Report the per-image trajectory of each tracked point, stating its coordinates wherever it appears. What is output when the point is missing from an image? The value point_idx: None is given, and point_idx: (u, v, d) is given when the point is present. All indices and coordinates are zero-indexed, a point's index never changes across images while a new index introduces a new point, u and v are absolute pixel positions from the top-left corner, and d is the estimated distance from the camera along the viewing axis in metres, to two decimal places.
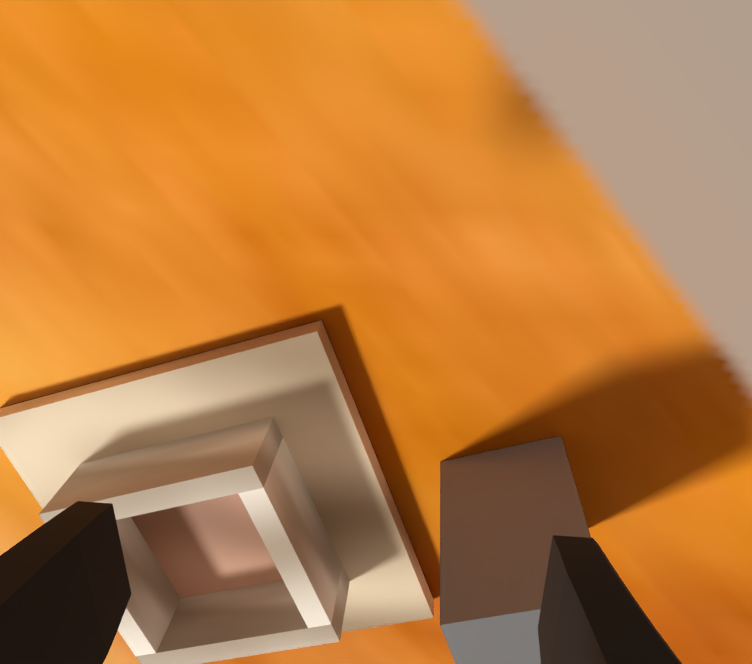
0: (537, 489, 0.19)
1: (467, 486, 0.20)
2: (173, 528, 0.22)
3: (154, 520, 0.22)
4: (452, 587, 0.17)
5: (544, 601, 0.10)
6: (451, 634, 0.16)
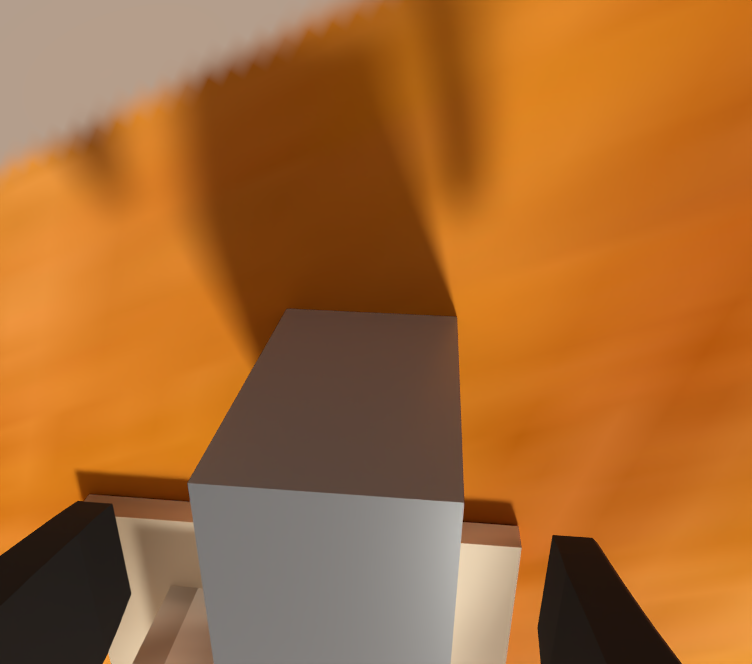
0: None
1: None
2: None
3: None
4: None
5: (544, 601, 0.10)
6: None
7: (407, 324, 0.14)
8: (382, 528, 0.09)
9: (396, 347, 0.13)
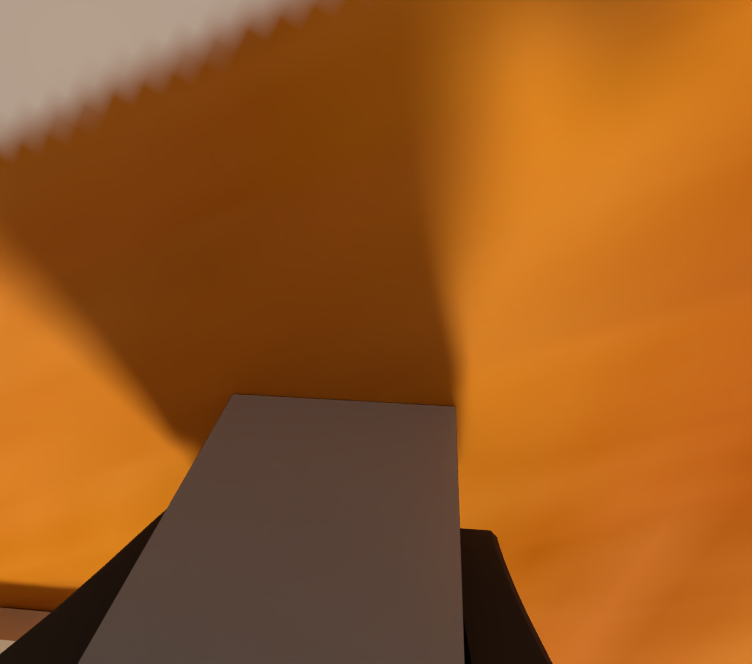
0: None
1: None
2: None
3: None
4: None
5: None
6: None
7: (390, 420, 0.11)
8: None
9: (373, 462, 0.10)
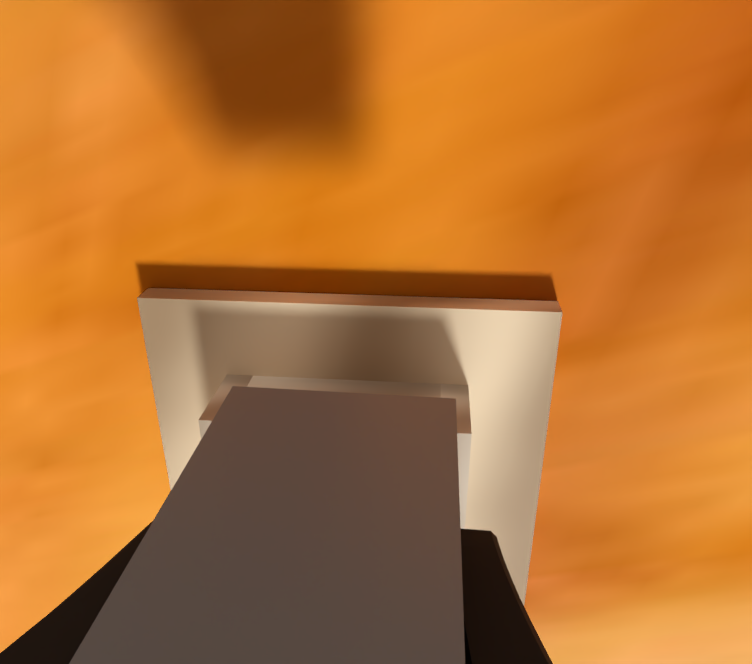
0: None
1: None
2: None
3: None
4: None
5: None
6: None
7: (389, 412, 0.11)
8: None
9: (373, 453, 0.10)
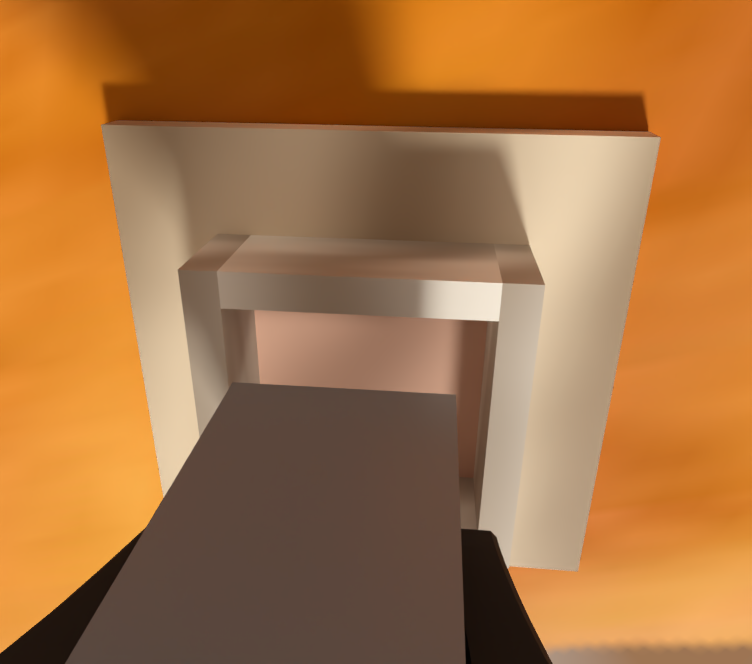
0: None
1: None
2: None
3: None
4: None
5: None
6: None
7: (389, 408, 0.11)
8: None
9: (373, 449, 0.10)
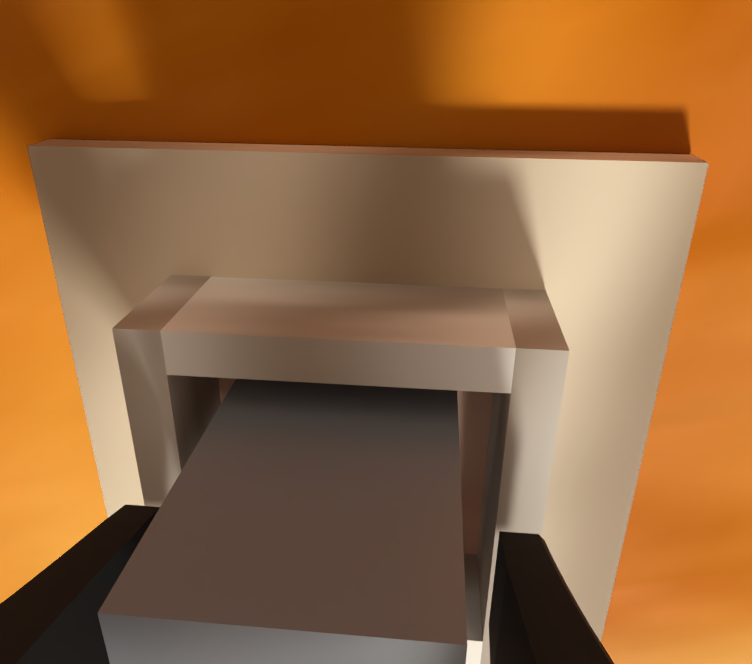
0: None
1: None
2: None
3: None
4: None
5: (493, 597, 0.10)
6: None
7: None
8: None
9: (382, 400, 0.11)
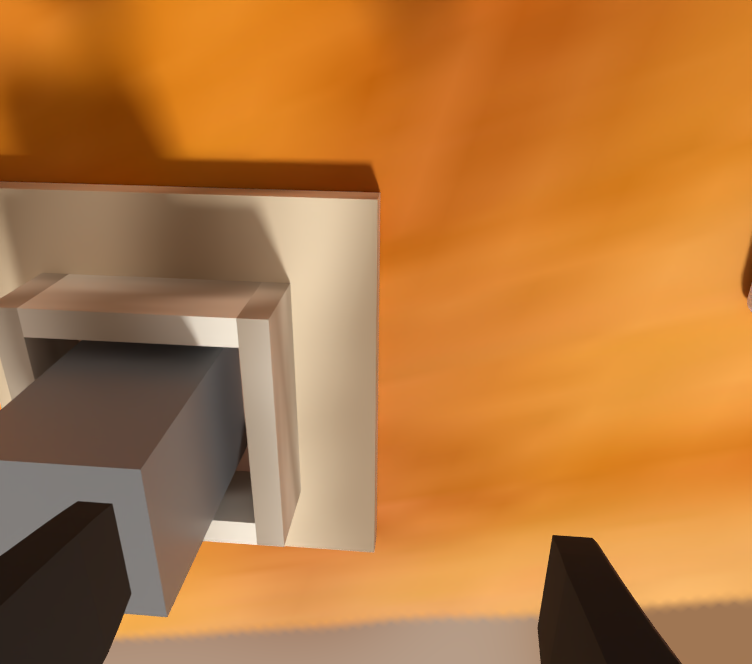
0: None
1: None
2: None
3: None
4: None
5: (544, 601, 0.10)
6: None
7: None
8: (89, 489, 0.13)
9: (169, 355, 0.17)
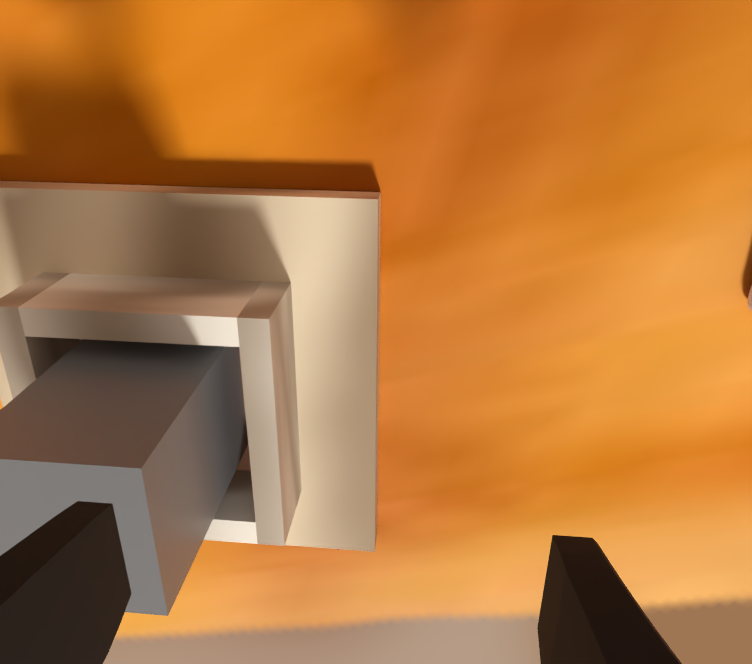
0: None
1: None
2: None
3: None
4: None
5: (544, 601, 0.10)
6: None
7: None
8: (90, 488, 0.13)
9: (170, 354, 0.17)
